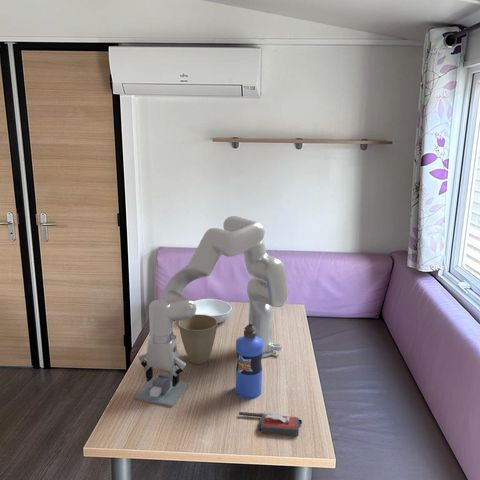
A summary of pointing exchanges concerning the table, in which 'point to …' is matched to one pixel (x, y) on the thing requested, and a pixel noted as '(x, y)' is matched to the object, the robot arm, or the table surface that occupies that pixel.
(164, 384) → the usb plug
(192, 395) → the table surface
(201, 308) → the serving bowl
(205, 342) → the plant pot
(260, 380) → the water bottle
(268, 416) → the walkie-talkie
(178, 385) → the dock pad
